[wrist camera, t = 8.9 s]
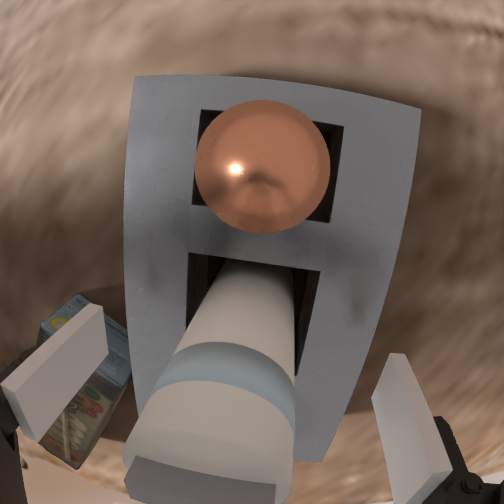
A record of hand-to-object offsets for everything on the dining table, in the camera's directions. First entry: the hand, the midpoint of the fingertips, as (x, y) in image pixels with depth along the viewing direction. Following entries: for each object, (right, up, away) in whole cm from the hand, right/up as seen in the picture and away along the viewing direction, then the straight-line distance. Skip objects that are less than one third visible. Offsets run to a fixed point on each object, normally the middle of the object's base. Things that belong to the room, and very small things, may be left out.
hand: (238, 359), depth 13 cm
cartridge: (+1, +3, +8) cm, 9 cm away
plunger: (+2, +10, +5) cm, 11 cm away
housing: (+1, +3, +8) cm, 9 cm away
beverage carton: (-16, -8, +14) cm, 22 cm away
